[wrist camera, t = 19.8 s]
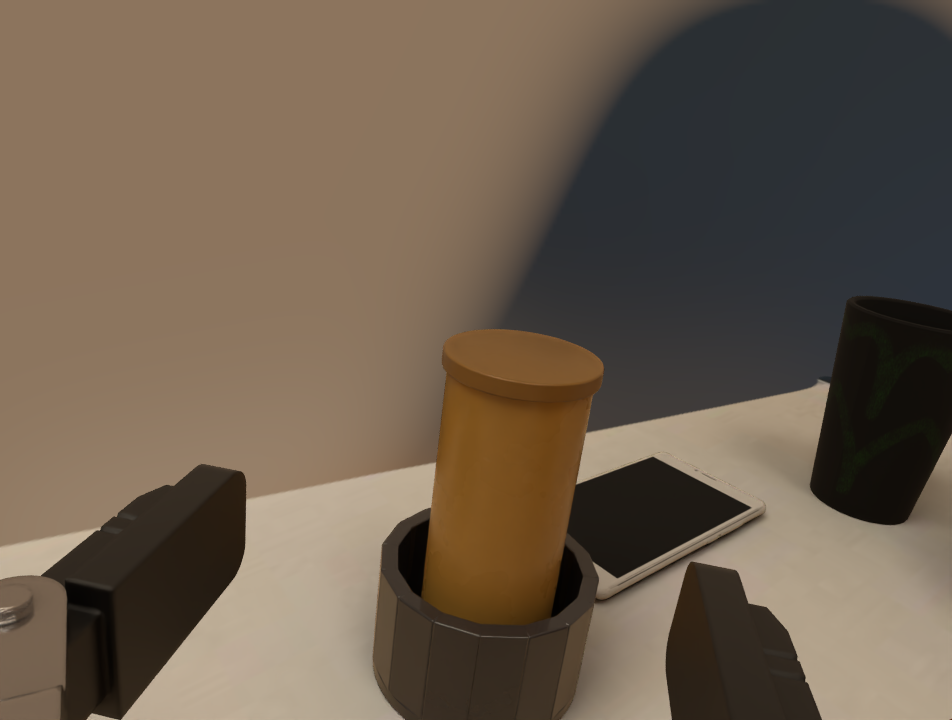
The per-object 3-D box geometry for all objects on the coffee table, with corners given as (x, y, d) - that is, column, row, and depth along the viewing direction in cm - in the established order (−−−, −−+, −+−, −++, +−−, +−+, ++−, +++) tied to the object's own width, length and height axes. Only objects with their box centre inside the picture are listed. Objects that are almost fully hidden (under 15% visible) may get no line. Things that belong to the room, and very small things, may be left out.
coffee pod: (380, 649, 26) (409, 344, 22) (469, 588, 30) (507, 320, 26) (490, 733, 23) (545, 398, 19) (573, 654, 27) (633, 362, 23)
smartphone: (488, 511, 35) (662, 449, 45) (486, 522, 35) (660, 458, 45) (602, 595, 30) (771, 504, 40) (599, 607, 30) (768, 513, 40)
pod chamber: (328, 656, 26) (335, 553, 24) (463, 569, 32) (475, 482, 30) (492, 792, 22) (512, 677, 20) (614, 662, 27) (636, 566, 26)
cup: (823, 525, 40) (889, 324, 36) (774, 462, 47) (825, 289, 43) (957, 542, 40) (1038, 343, 36) (887, 477, 47) (948, 305, 43)
